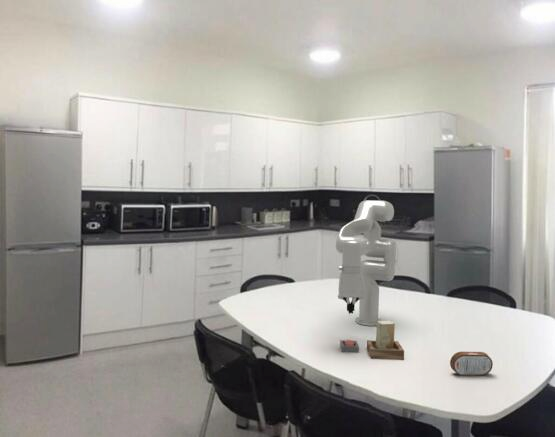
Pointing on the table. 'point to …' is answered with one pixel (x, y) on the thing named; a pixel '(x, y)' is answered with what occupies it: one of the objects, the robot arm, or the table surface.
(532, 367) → the table surface
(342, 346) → the button housing
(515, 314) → the table surface
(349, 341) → the button
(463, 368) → the tin
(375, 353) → the tray
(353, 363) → the table surface
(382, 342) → the skincare box
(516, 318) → the table surface
